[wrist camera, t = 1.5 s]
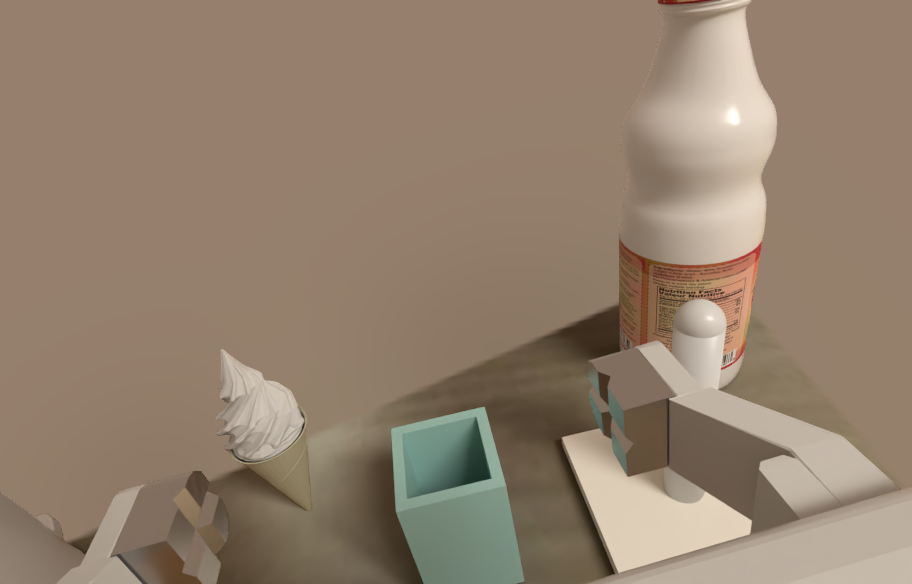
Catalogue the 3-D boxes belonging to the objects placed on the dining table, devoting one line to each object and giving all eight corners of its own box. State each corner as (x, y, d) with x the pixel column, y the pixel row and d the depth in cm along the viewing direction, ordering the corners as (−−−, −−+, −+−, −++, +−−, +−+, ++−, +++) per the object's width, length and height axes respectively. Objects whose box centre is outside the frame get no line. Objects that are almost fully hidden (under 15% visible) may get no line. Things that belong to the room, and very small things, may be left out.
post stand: (632, 616, 28) (636, 421, 20) (562, 446, 38) (545, 271, 30) (843, 563, 29) (930, 350, 20) (719, 408, 39) (744, 225, 31)
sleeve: (431, 604, 31) (395, 512, 26) (423, 520, 35) (391, 428, 31) (524, 581, 31) (505, 485, 26) (503, 500, 36) (484, 406, 31)
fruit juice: (596, 356, 46) (582, -5, 31) (671, 311, 49) (692, -35, 34) (686, 418, 39) (726, -14, 24) (768, 361, 42) (848, -51, 27)
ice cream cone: (277, 487, 40) (190, 333, 32) (343, 470, 40) (272, 313, 32) (269, 549, 36) (165, 388, 28) (342, 529, 36) (260, 365, 28)
